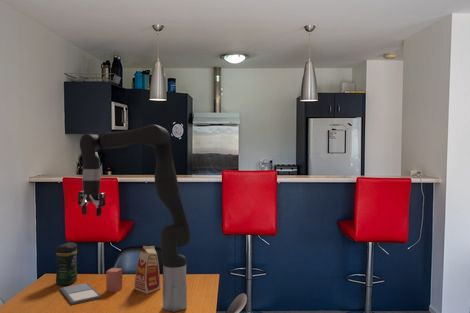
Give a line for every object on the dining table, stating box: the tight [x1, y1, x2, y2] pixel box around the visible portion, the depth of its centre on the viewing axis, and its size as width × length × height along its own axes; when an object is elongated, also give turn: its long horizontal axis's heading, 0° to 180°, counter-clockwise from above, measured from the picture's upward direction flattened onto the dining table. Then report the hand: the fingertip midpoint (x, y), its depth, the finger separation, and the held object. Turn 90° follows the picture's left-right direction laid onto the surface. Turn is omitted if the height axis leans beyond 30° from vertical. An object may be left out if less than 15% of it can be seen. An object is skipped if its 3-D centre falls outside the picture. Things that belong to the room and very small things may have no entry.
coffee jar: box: [55, 241, 78, 286], centre depth 189 cm, size 10×8×19 cm
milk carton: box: [133, 245, 161, 295], centre depth 182 cm, size 9×9×20 cm
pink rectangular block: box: [105, 267, 123, 293], centre depth 181 cm, size 5×5×9 cm
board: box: [59, 282, 102, 305], centre depth 175 cm, size 20×12×1 cm, turn 36°
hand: (91, 215), depth 179 cm, fingers open, 8 cm apart
